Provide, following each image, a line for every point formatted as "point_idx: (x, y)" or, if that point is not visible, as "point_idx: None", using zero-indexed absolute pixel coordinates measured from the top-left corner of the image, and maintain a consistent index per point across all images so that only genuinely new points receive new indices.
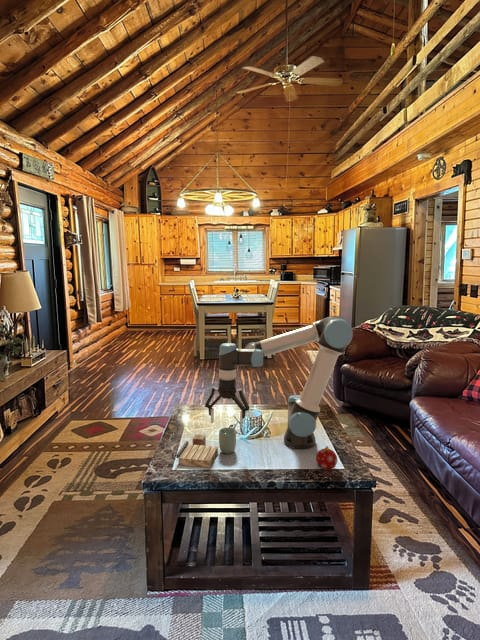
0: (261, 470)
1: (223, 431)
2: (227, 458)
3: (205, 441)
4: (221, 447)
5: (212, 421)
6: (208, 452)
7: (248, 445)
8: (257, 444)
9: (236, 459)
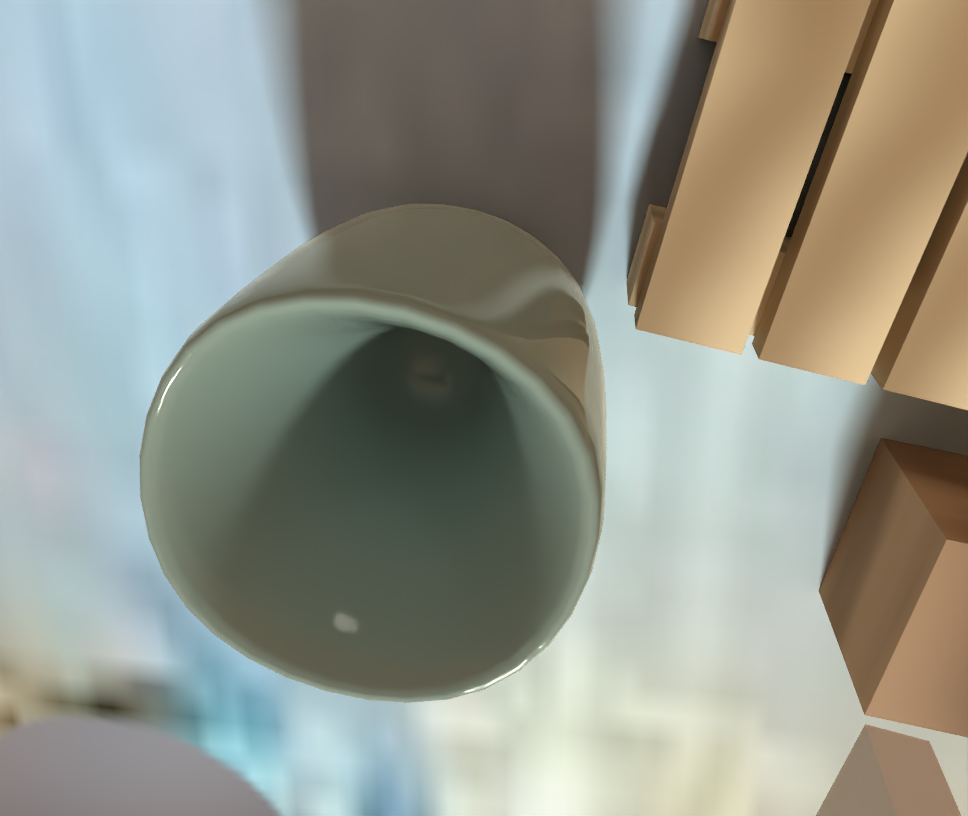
0: None
1: (484, 603)
2: (454, 56)
3: (834, 626)
4: (556, 257)
5: (869, 803)
6: (848, 102)
7: (140, 510)
8: (16, 528)
9: (287, 7)
